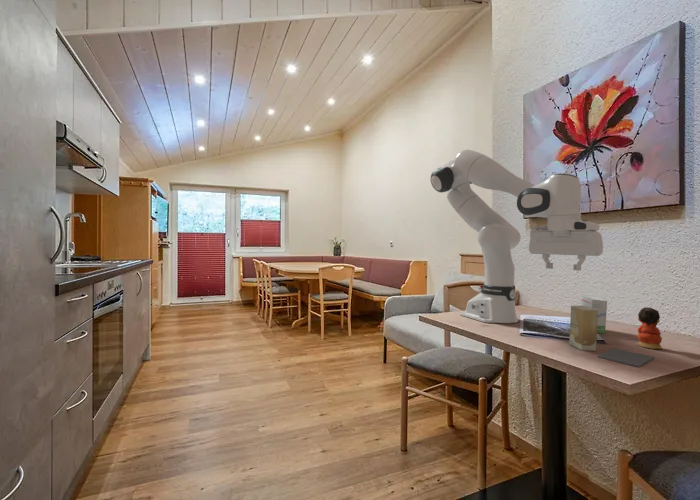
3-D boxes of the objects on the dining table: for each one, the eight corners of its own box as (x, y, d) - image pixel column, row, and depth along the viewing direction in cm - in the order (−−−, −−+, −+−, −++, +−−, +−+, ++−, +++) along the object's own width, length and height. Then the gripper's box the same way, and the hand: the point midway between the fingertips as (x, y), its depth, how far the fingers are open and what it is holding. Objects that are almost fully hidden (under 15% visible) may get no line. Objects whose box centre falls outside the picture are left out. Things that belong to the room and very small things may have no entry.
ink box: (578, 326, 126) (579, 295, 126) (594, 327, 125) (595, 296, 125) (590, 332, 118) (591, 299, 118) (607, 333, 117) (607, 300, 117)
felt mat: (597, 357, 93) (597, 355, 93) (614, 349, 100) (614, 348, 100) (638, 367, 86) (638, 365, 86) (654, 358, 92) (654, 356, 92)
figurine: (666, 351, 98) (668, 310, 98) (643, 349, 100) (644, 309, 100) (655, 345, 104) (656, 306, 104) (633, 343, 106) (634, 305, 106)
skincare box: (568, 344, 105) (569, 305, 104) (582, 344, 104) (583, 305, 104) (582, 351, 98) (583, 309, 98) (597, 351, 98) (598, 309, 98)
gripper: (525, 226, 112) (524, 267, 113) (596, 223, 95) (595, 272, 96) (535, 226, 116) (534, 266, 116) (605, 224, 99) (604, 271, 99)
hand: (562, 269), depth 106 cm, fingers open, 7 cm apart
